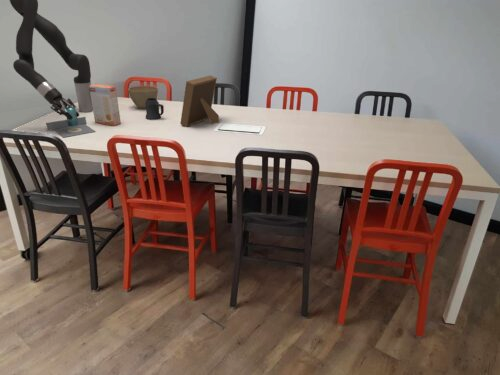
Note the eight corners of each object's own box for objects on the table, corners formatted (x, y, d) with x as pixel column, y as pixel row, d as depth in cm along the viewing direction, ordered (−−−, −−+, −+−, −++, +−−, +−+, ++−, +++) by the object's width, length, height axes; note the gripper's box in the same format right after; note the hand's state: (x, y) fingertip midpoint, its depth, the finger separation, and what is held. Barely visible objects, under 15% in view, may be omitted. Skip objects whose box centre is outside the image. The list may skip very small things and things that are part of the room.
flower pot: (155, 111, 234) (153, 91, 229) (126, 110, 235) (124, 91, 229) (162, 104, 251) (160, 85, 245) (135, 103, 251) (133, 85, 245)
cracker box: (121, 123, 210) (116, 86, 201) (113, 126, 205) (108, 88, 196) (102, 120, 215) (96, 83, 206) (94, 122, 211) (88, 85, 201)
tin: (76, 123, 199) (73, 106, 195) (79, 125, 196) (76, 108, 192) (66, 124, 196) (63, 107, 192) (69, 126, 193) (66, 109, 189)
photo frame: (180, 125, 209) (177, 80, 198) (203, 116, 226) (202, 74, 215) (201, 130, 202) (200, 83, 191) (224, 121, 219) (224, 77, 208)
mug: (142, 118, 220) (140, 99, 215) (152, 115, 227) (150, 96, 222) (158, 121, 215) (157, 102, 210) (168, 117, 223) (166, 98, 218)
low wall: (86, 123, 209) (84, 116, 207) (86, 124, 208) (85, 117, 207) (47, 130, 197) (45, 122, 196) (47, 130, 197) (46, 123, 195)
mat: (85, 124, 207) (85, 123, 207) (95, 131, 197) (95, 131, 196) (54, 129, 198) (54, 129, 198) (63, 137, 187) (63, 137, 187)
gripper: (43, 90, 182) (70, 116, 186) (62, 85, 195) (86, 109, 198) (36, 100, 186) (62, 126, 189) (55, 94, 198) (79, 118, 202)
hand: (75, 117), depth 194 cm, fingers closed on tin, 5 cm apart
